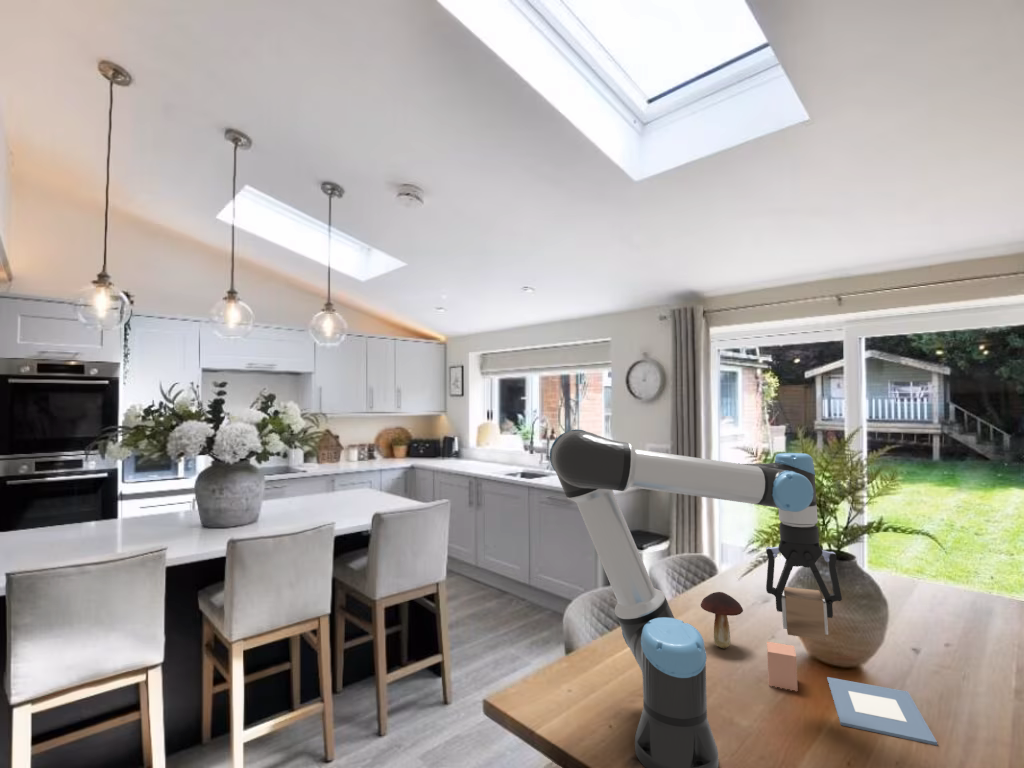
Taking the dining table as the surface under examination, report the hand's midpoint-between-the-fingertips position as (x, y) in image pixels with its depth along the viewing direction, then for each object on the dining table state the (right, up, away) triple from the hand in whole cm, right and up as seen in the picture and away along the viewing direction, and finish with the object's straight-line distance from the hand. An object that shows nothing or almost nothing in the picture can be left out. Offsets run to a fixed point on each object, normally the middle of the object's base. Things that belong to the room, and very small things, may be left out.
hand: (804, 629), depth 111 cm
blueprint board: (+16, -18, 0) cm, 24 cm away
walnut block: (0, 0, 0) cm, 0 cm away
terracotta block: (+1, -18, +11) cm, 22 cm away
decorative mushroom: (-6, -20, +30) cm, 36 cm away
